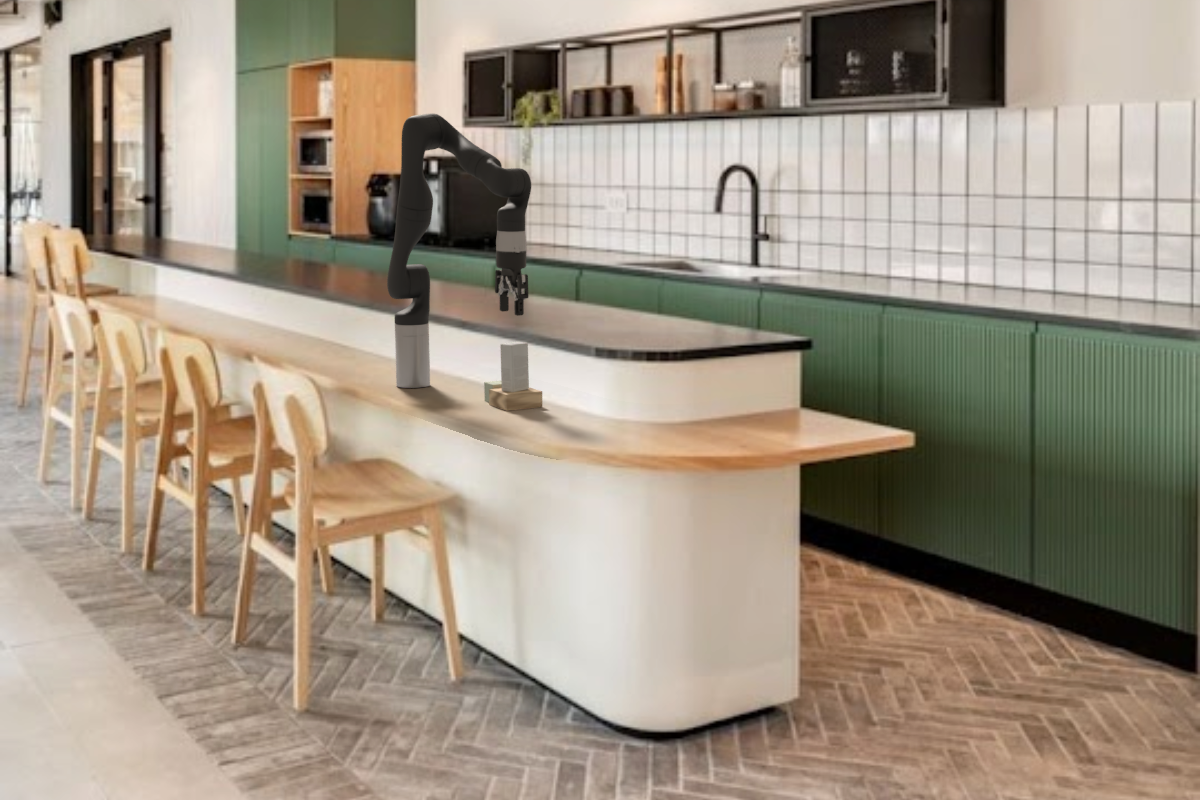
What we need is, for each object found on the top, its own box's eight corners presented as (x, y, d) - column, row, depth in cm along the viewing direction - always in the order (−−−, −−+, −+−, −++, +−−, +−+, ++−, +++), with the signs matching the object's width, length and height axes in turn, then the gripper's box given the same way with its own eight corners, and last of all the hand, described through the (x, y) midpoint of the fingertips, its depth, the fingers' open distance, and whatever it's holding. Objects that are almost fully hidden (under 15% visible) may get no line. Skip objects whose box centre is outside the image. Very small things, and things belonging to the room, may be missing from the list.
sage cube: (484, 401, 378) (484, 382, 377) (502, 399, 380) (501, 380, 379) (493, 404, 374) (492, 384, 373) (510, 402, 376) (510, 383, 375)
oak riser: (489, 404, 372) (489, 389, 371) (524, 401, 377) (524, 385, 376) (506, 410, 363) (506, 394, 363) (542, 407, 368) (542, 391, 368)
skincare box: (517, 387, 373) (516, 341, 371) (529, 389, 370) (528, 342, 368) (500, 390, 368) (499, 343, 366) (512, 392, 366) (512, 345, 364)
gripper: (485, 247, 371) (486, 310, 374) (510, 251, 358) (510, 317, 361) (512, 246, 374) (512, 309, 377) (537, 250, 362) (537, 315, 365)
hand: (511, 313), depth 369 cm, fingers open, 8 cm apart
